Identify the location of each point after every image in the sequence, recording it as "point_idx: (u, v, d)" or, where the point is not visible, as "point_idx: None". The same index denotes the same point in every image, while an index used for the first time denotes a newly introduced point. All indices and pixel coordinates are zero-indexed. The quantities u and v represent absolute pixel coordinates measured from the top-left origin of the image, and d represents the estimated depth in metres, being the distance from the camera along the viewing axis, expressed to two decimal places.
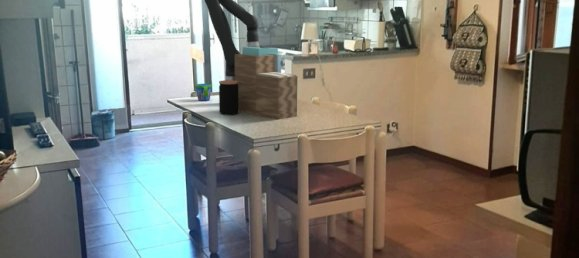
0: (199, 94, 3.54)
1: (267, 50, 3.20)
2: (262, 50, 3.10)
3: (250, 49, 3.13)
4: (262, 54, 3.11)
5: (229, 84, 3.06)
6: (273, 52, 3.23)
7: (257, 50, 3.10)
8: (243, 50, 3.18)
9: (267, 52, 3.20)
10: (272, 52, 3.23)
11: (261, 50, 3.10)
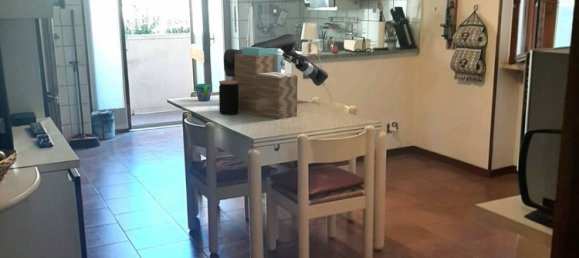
0: (199, 94, 3.54)
1: (267, 50, 3.20)
2: (262, 50, 3.10)
3: (250, 49, 3.13)
4: (262, 54, 3.11)
5: (229, 84, 3.06)
6: (273, 52, 3.23)
7: (257, 50, 3.10)
8: (243, 50, 3.18)
9: (267, 52, 3.20)
10: (272, 52, 3.23)
11: (261, 50, 3.10)
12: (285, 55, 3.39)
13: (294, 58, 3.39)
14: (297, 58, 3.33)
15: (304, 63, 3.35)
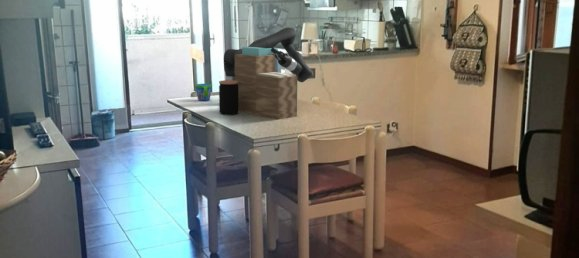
0: (199, 94, 3.54)
1: (267, 50, 3.20)
2: (262, 50, 3.10)
3: (250, 49, 3.13)
4: (262, 54, 3.11)
5: (229, 84, 3.06)
6: None
7: (257, 50, 3.10)
8: (243, 50, 3.18)
9: (267, 52, 3.20)
10: (272, 52, 3.23)
11: (261, 50, 3.10)
12: None
13: None
14: (276, 52, 3.23)
15: (285, 57, 3.24)
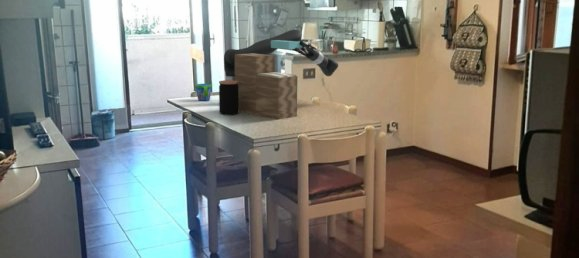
0: (199, 94, 3.54)
1: (296, 43, 3.18)
2: (291, 43, 3.08)
3: (279, 42, 3.11)
4: (292, 47, 3.09)
5: (229, 84, 3.06)
6: None
7: (286, 44, 3.08)
8: (272, 43, 3.16)
9: (296, 45, 3.18)
10: (300, 45, 3.21)
11: (291, 43, 3.08)
12: None
13: None
14: (304, 45, 3.21)
15: (313, 51, 3.23)
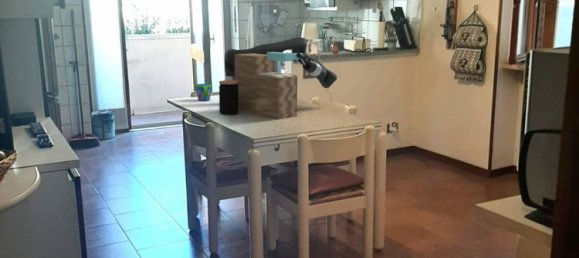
0: (199, 94, 3.54)
1: (292, 55, 3.09)
2: (288, 55, 3.00)
3: (275, 54, 3.03)
4: (288, 59, 3.01)
5: (229, 84, 3.06)
6: None
7: (282, 56, 2.99)
8: (268, 55, 3.07)
9: (292, 57, 3.10)
10: (297, 57, 3.12)
11: (287, 55, 2.99)
12: None
13: None
14: (301, 57, 3.13)
15: (310, 63, 3.14)
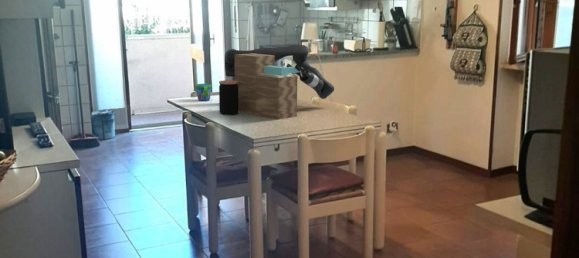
0: (199, 94, 3.54)
1: (289, 69, 3.09)
2: (284, 69, 3.00)
3: (272, 68, 3.03)
4: (285, 74, 3.00)
5: (229, 84, 3.06)
6: (295, 71, 3.13)
7: (279, 70, 2.99)
8: (265, 69, 3.07)
9: (289, 71, 3.10)
10: (294, 71, 3.12)
11: (284, 69, 2.99)
12: (290, 66, 3.16)
13: None
14: (300, 69, 3.12)
15: (308, 75, 3.14)
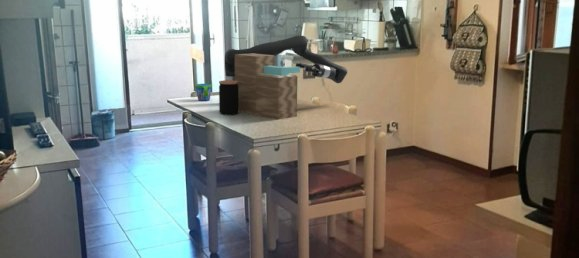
0: (199, 94, 3.54)
1: (289, 69, 3.09)
2: (284, 69, 3.00)
3: (272, 68, 3.03)
4: (285, 74, 3.00)
5: (229, 84, 3.06)
6: (295, 71, 3.13)
7: (279, 70, 2.99)
8: (265, 69, 3.07)
9: (289, 71, 3.10)
10: (294, 71, 3.12)
11: (284, 69, 2.99)
12: (299, 65, 3.24)
13: (308, 67, 3.24)
14: (311, 71, 3.18)
15: (319, 74, 3.21)
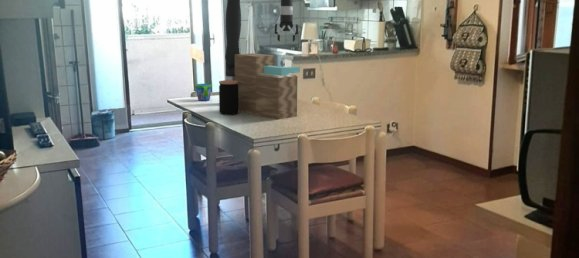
0: (199, 94, 3.54)
1: (289, 69, 3.09)
2: (284, 69, 3.00)
3: (272, 68, 3.03)
4: (285, 74, 3.00)
5: (229, 84, 3.06)
6: (295, 71, 3.13)
7: (279, 70, 2.99)
8: (265, 69, 3.07)
9: (289, 71, 3.10)
10: (294, 71, 3.12)
11: (284, 69, 2.99)
12: (279, 37, 3.42)
13: (286, 30, 3.41)
14: None
15: None
